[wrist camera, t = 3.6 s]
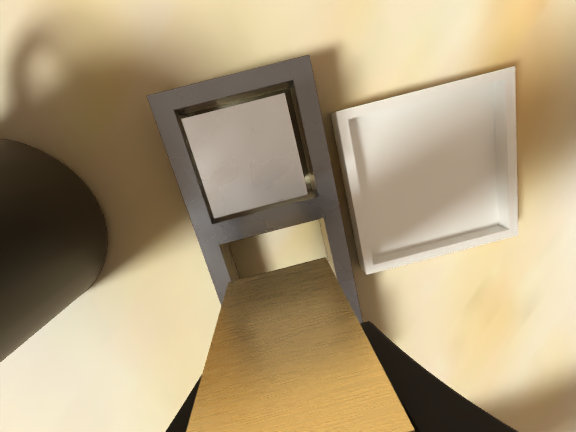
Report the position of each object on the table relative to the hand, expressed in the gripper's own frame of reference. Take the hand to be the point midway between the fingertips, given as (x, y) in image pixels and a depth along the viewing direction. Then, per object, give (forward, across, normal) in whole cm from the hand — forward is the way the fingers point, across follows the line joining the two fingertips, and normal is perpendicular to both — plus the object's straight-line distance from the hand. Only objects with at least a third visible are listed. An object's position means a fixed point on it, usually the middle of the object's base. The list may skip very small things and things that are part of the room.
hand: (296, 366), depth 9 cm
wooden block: (+3, 0, 0) cm, 3 cm away
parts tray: (+8, -9, -3) cm, 12 cm away
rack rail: (+8, 0, 0) cm, 8 cm away
